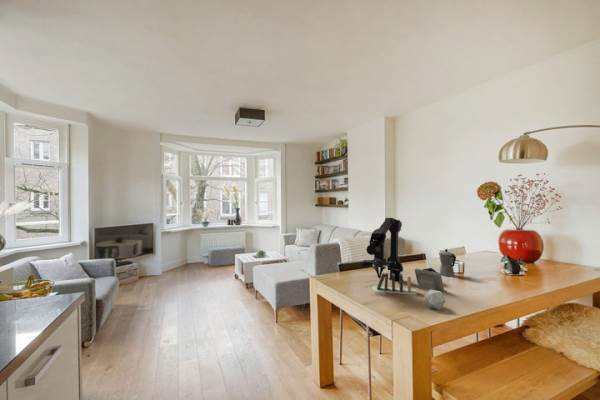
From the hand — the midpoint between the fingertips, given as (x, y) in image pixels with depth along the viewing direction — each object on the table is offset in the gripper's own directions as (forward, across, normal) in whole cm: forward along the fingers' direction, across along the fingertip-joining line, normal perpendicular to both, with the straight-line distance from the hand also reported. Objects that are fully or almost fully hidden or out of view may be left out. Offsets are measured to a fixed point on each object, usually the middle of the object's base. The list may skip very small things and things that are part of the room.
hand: (379, 278), depth 162 cm
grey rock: (+7, +27, -20) cm, 35 cm away
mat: (+6, +8, 0) cm, 10 cm away
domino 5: (+6, +16, 0) cm, 18 cm away
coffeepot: (+7, +44, +43) cm, 62 cm away
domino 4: (+6, +12, 0) cm, 14 cm away
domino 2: (+6, +4, 0) cm, 7 cm away
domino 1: (+6, -1, 0) cm, 6 cm away
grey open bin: (+7, +29, +24) cm, 39 cm away
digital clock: (+7, +28, +10) cm, 31 cm away
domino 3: (+6, +8, 0) cm, 10 cm away
